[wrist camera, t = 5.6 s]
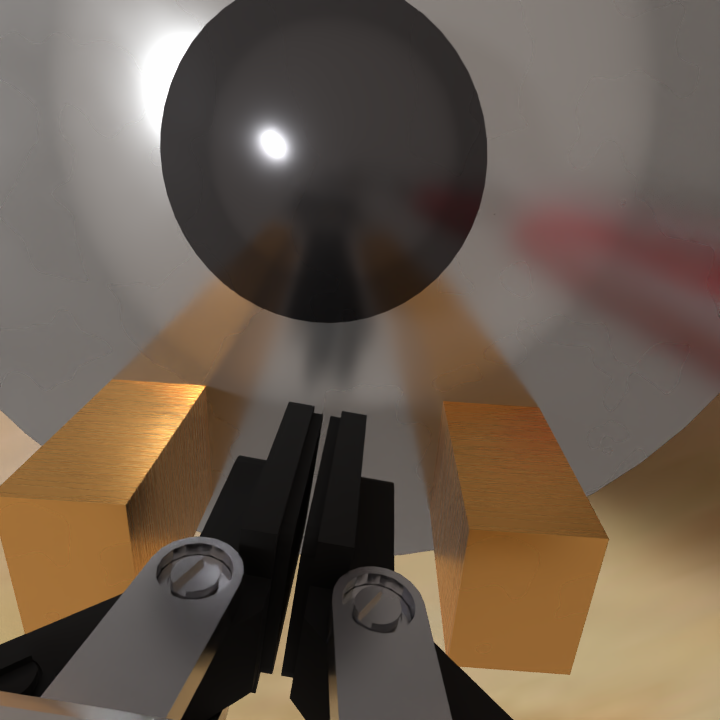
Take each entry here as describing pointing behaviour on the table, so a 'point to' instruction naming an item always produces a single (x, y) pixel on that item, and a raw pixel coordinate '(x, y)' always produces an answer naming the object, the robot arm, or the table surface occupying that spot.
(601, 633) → the table surface
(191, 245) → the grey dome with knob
